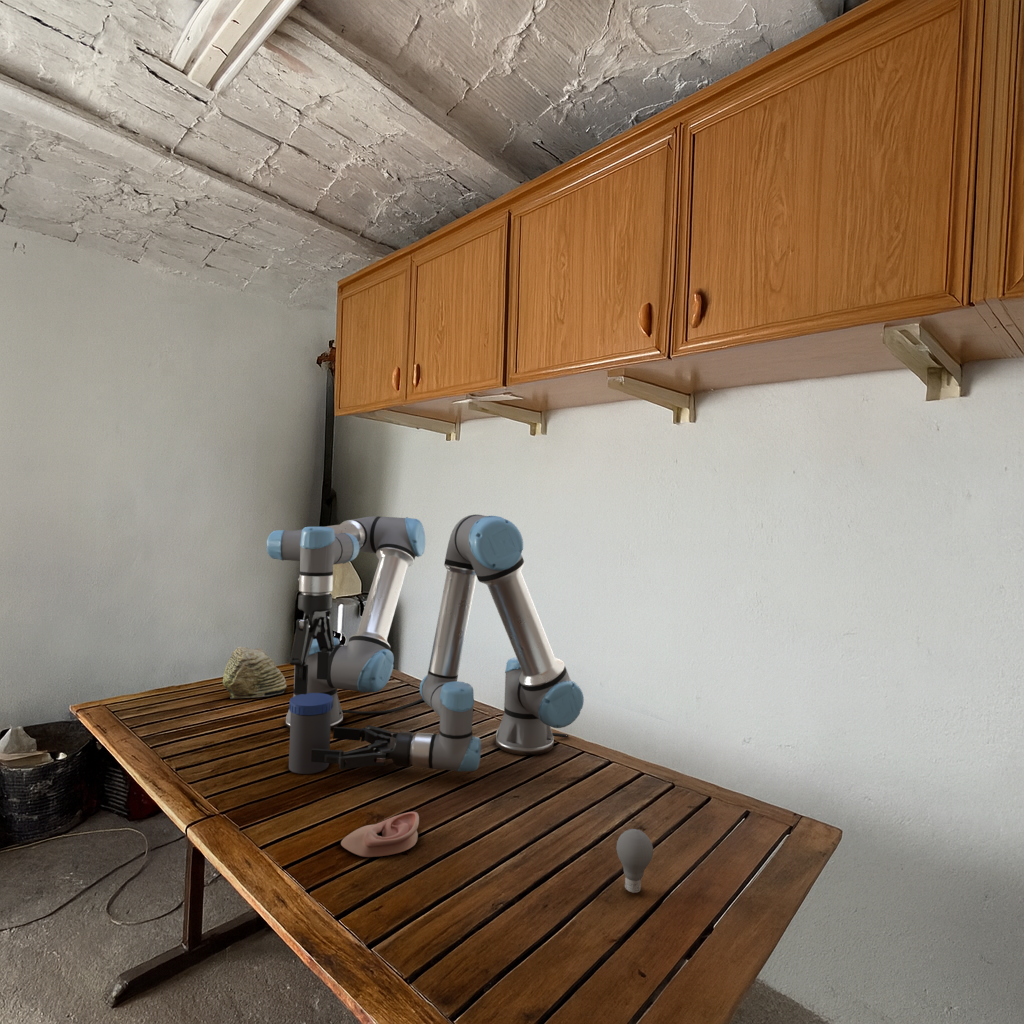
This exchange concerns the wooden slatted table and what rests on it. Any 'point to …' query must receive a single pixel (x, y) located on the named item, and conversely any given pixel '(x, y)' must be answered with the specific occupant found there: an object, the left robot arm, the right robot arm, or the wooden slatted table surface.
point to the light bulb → (634, 857)
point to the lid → (311, 704)
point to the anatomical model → (384, 836)
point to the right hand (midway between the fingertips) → (323, 743)
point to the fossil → (252, 674)
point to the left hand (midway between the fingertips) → (312, 686)
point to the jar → (308, 741)
